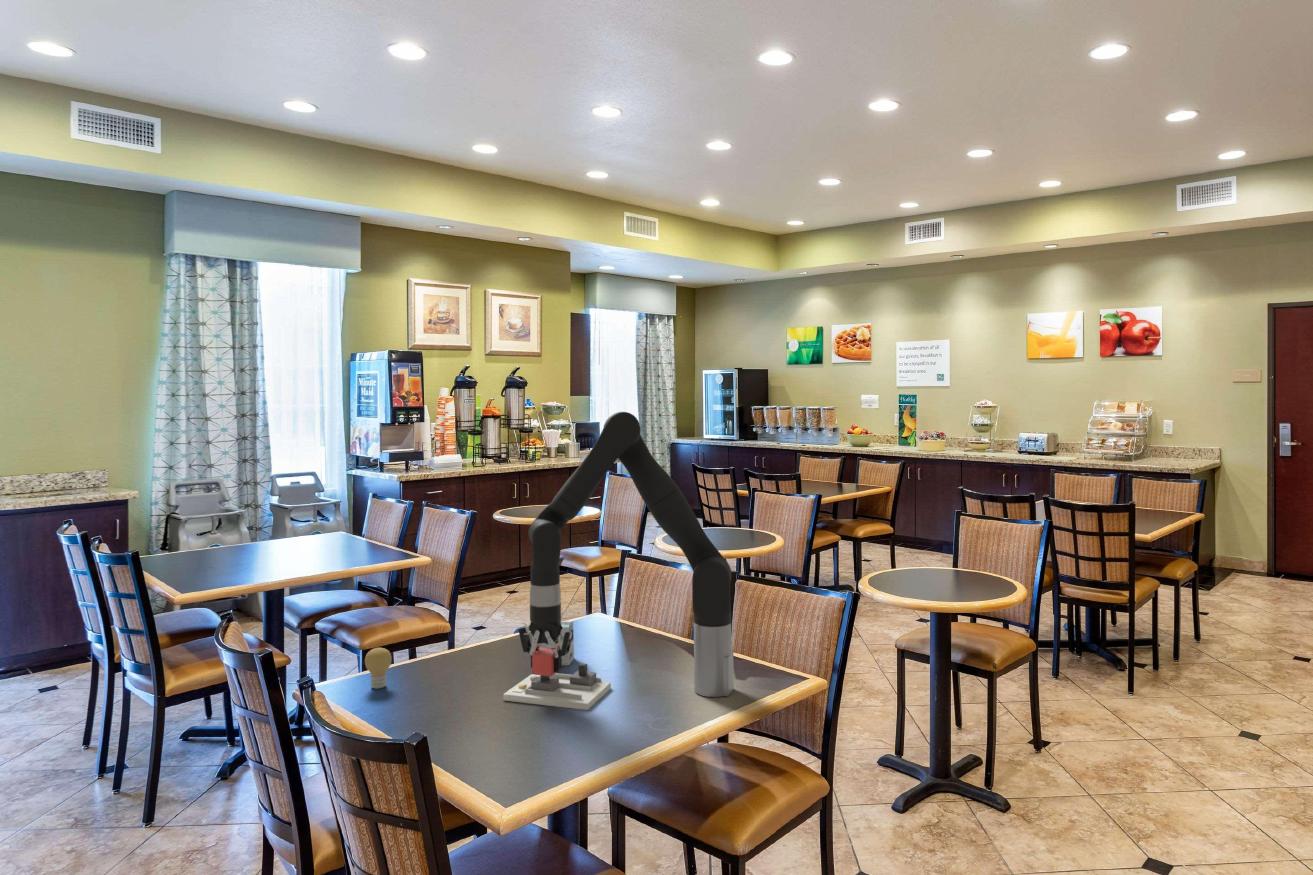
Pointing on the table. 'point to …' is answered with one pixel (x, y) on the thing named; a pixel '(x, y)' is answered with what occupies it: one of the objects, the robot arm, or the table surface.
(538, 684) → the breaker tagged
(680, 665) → the table surface
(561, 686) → the panel
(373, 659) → the light bulb
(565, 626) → the light bulb box
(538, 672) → the cap
